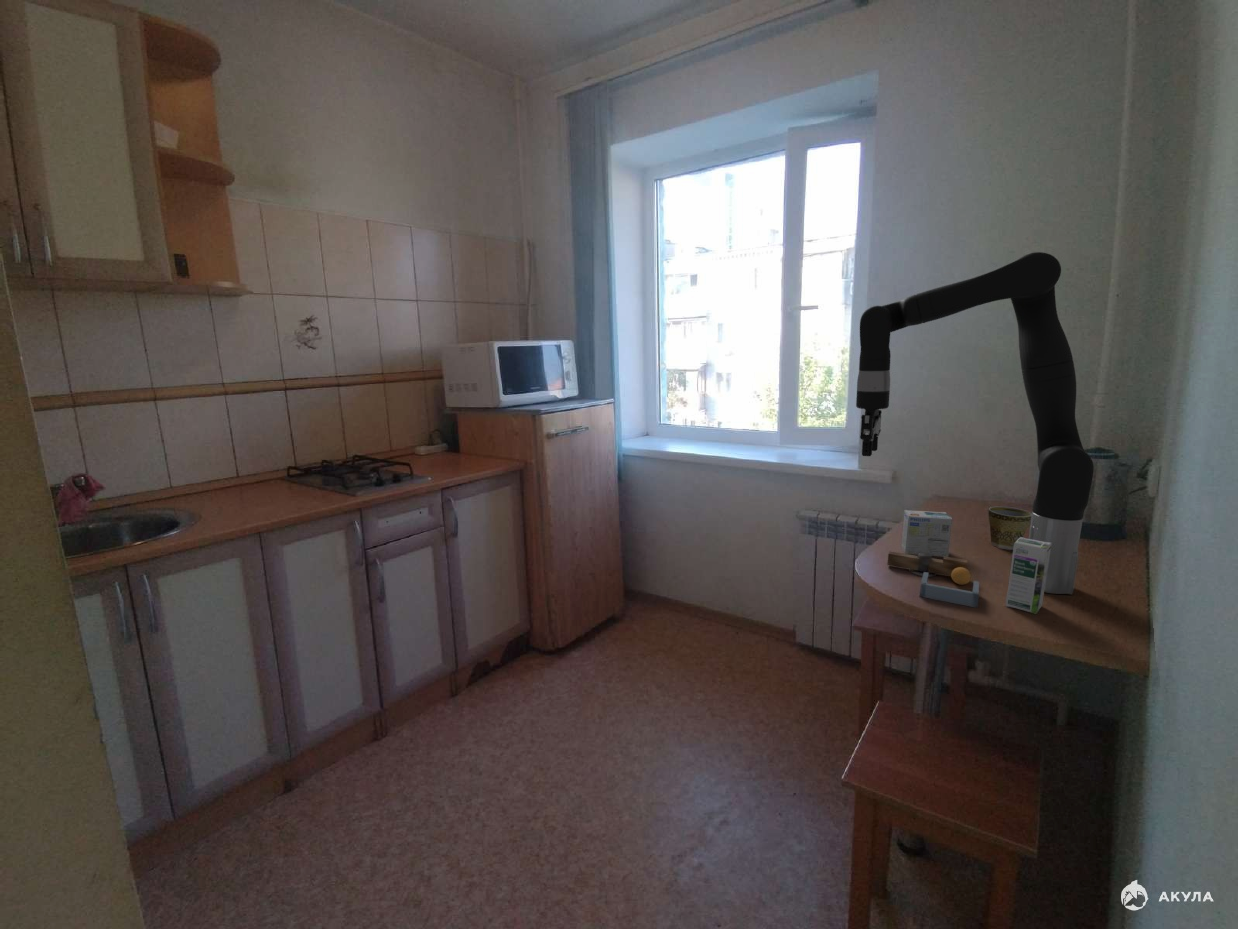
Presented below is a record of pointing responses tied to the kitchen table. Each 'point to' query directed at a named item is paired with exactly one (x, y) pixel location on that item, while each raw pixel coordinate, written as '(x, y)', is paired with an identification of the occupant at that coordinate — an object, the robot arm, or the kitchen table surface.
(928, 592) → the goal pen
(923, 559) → the tan wooden bar
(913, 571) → the pivot base
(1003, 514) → the ceramic cup
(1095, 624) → the kitchen table surface
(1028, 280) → the robot arm
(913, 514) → the light bulb box
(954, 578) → the ball
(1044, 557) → the syrup box
